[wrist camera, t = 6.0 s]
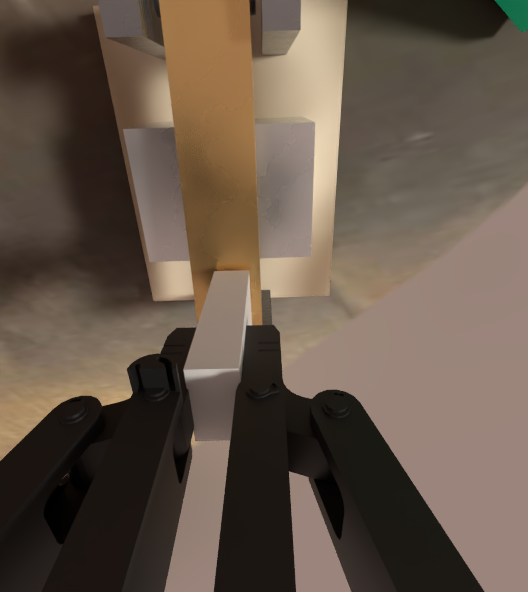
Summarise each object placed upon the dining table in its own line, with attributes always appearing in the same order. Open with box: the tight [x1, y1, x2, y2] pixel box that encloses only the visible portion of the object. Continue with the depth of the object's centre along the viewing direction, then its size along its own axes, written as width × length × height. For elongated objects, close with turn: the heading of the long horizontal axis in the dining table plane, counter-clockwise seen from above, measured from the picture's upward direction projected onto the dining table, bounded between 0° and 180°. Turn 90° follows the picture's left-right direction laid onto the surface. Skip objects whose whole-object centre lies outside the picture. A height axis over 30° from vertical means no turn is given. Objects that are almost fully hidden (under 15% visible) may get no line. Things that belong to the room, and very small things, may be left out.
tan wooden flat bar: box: [153, 0, 263, 325], centre depth 15 cm, size 3×14×1 cm, turn 2°
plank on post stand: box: [98, 0, 315, 325], centre depth 17 cm, size 8×16×8 cm, turn 2°
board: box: [93, 0, 348, 301], centre depth 21 cm, size 12×16×1 cm
